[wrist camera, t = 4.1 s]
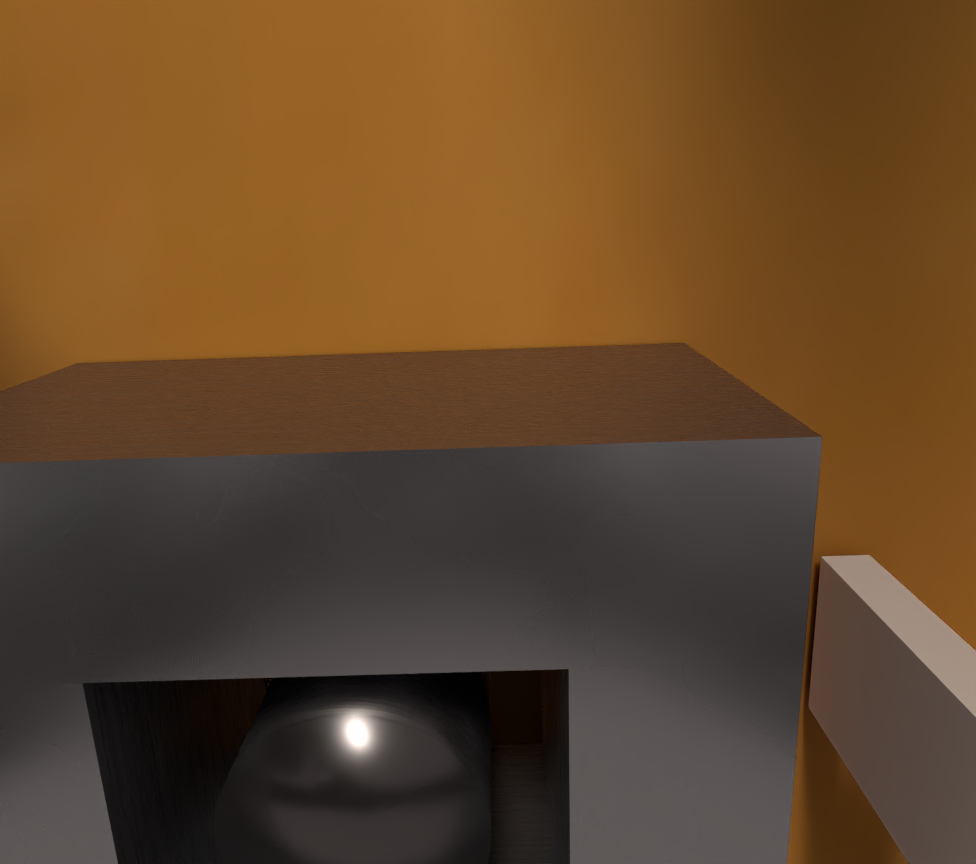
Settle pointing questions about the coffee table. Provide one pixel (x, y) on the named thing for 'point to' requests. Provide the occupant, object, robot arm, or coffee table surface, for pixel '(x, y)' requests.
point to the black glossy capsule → (363, 773)
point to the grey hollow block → (406, 587)
